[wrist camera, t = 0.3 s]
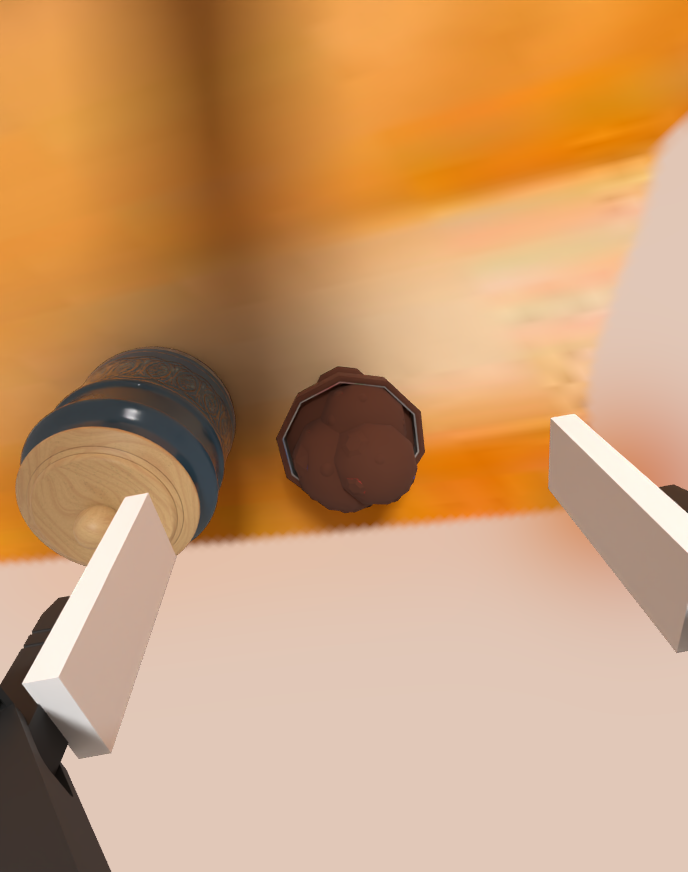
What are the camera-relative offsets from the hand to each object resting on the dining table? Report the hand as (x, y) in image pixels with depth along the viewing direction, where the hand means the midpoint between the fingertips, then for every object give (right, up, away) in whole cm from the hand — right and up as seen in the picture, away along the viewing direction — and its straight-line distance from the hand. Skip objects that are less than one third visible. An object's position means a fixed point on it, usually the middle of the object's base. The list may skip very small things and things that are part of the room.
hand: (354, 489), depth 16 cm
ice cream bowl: (0, +6, +29) cm, 29 cm away
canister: (-16, +4, +28) cm, 33 cm away
